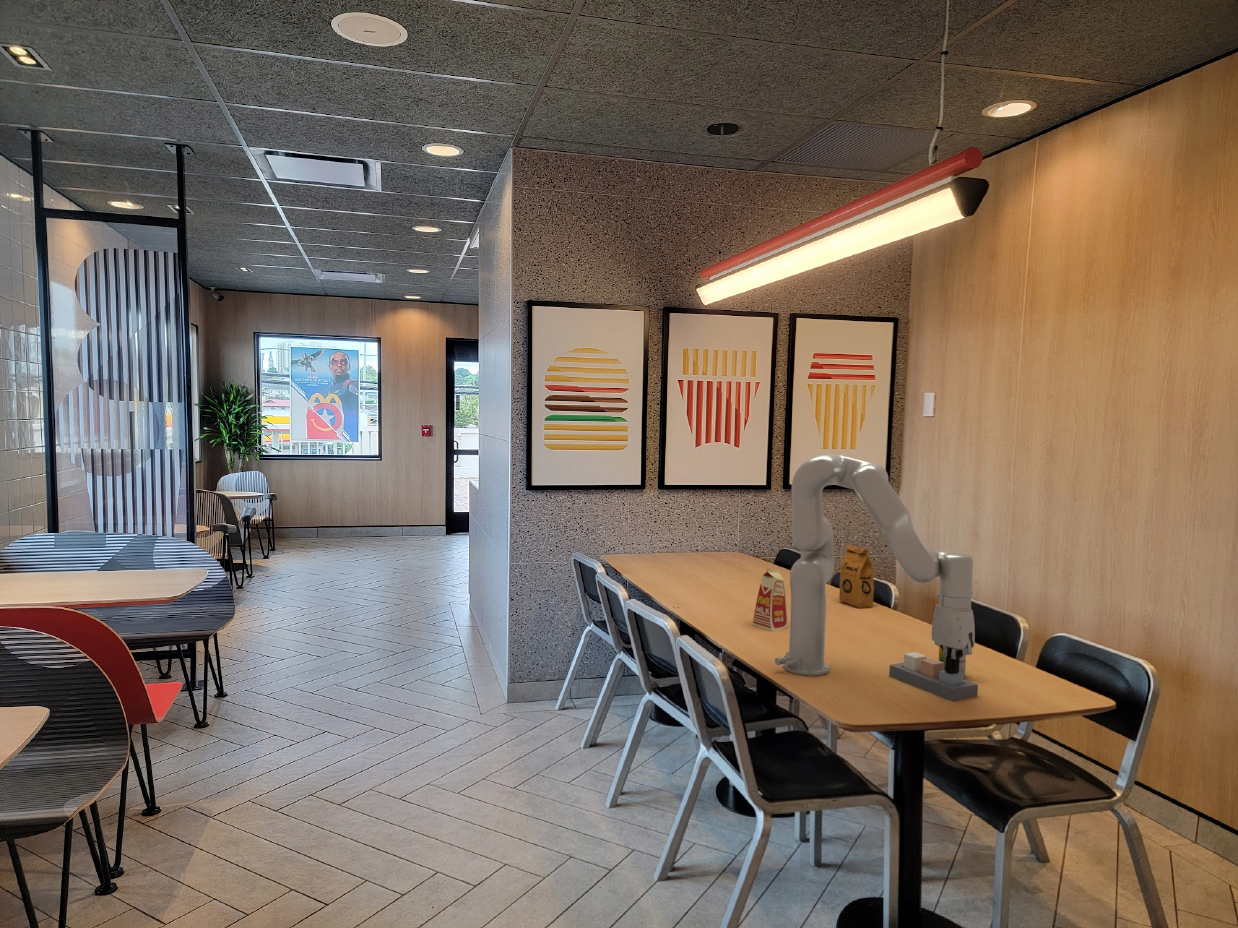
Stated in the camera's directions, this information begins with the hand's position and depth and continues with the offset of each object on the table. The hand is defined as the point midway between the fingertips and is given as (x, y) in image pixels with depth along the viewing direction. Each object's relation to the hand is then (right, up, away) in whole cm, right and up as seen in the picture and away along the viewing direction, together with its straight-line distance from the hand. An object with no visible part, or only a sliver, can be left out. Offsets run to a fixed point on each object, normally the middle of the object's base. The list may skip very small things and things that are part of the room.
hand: (952, 672), depth 203 cm
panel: (-3, -5, +6) cm, 8 cm away
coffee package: (+4, 0, +96) cm, 97 cm away
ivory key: (-6, -2, +11) cm, 12 cm away
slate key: (0, -4, 0) cm, 4 cm away
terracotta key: (-3, -2, +6) cm, 7 cm away
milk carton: (-35, -1, +62) cm, 71 cm away
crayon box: (+6, -5, +15) cm, 17 cm away
